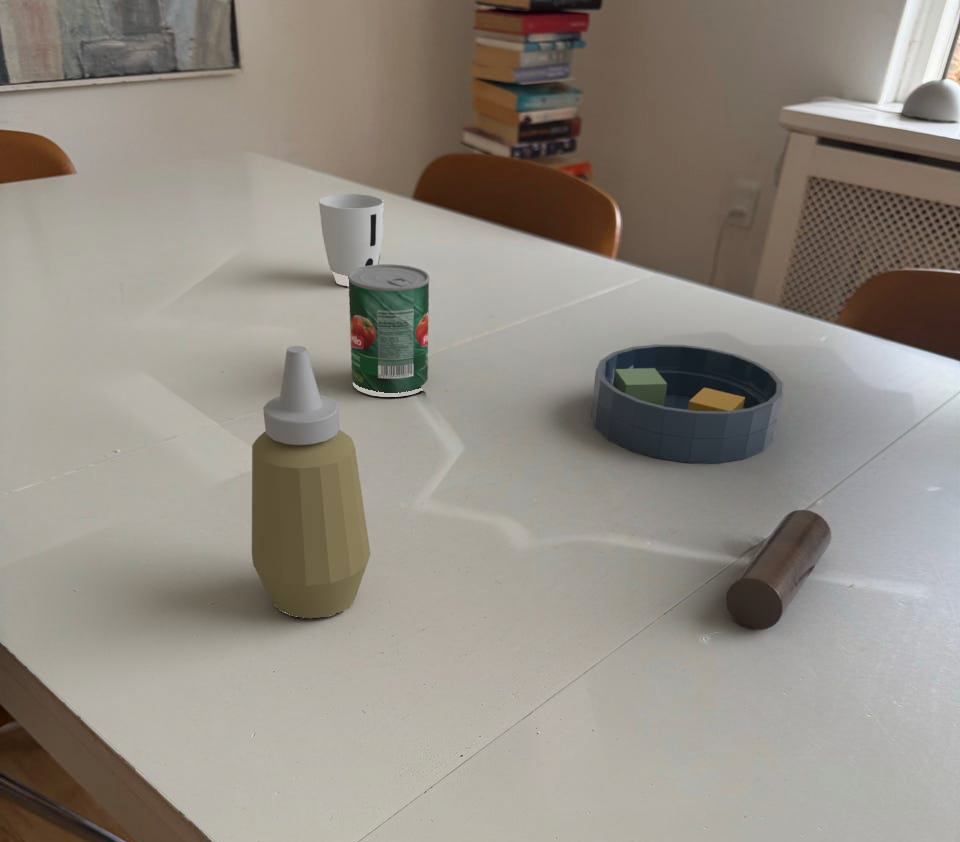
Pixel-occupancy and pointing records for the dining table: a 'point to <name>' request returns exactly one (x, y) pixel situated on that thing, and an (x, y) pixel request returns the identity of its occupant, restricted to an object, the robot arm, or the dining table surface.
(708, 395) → the block ochre
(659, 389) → the block sage
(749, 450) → the bowl
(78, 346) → the dining table surface
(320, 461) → the squeeze bottle
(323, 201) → the cup
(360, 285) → the canned tomato
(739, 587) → the brown wooden dowel
